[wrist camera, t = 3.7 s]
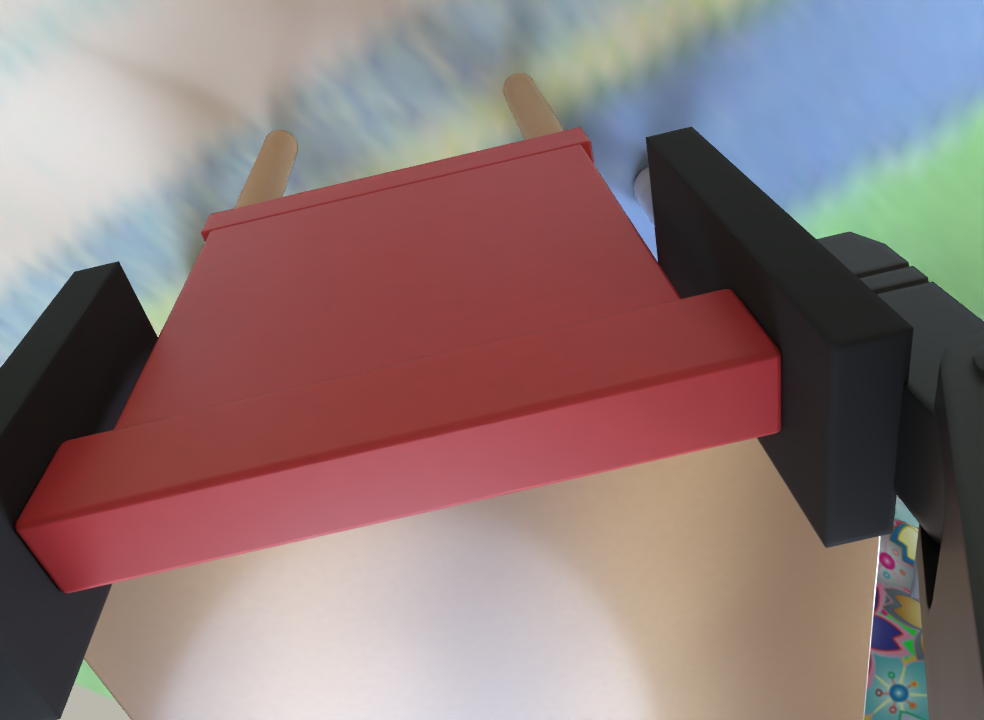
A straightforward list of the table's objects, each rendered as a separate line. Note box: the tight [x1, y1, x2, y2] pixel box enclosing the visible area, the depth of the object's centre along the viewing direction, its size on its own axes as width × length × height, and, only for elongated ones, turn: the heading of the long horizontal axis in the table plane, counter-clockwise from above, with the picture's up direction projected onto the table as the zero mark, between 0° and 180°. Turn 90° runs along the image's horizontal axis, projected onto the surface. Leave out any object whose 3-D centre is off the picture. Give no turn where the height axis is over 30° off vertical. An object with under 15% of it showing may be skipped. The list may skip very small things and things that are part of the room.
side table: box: [84, 166, 881, 720], centre depth 22 cm, size 16×12×12 cm
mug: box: [864, 519, 929, 720], centre depth 31 cm, size 12×9×11 cm
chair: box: [15, 73, 781, 593], centre depth 17 cm, size 9×7×16 cm
